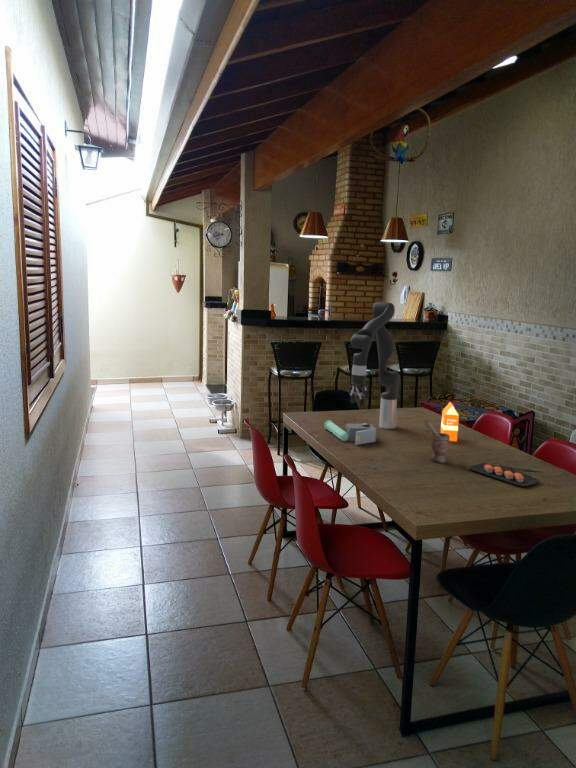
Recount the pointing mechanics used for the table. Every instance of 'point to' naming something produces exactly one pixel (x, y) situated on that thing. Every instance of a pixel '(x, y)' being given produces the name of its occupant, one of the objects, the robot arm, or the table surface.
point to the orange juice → (450, 422)
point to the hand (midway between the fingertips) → (357, 404)
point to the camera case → (356, 429)
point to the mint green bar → (336, 430)
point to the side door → (365, 436)
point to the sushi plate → (505, 474)
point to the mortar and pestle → (438, 443)
